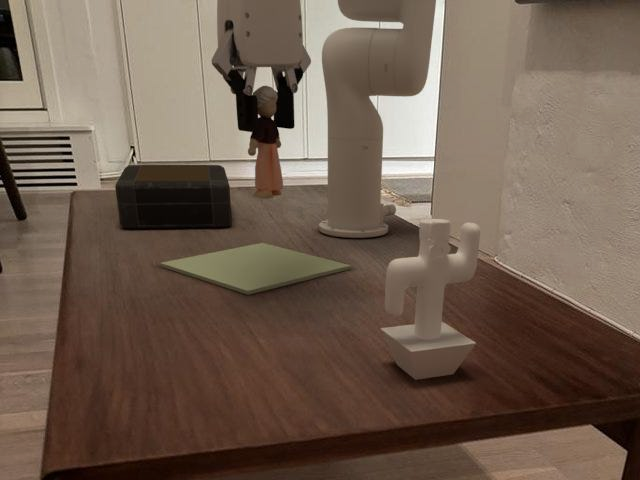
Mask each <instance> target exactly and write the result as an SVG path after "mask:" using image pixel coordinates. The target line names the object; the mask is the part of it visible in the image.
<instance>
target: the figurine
mask: <svg viewBox="0 0 640 480" xmlns="http://www.w3.org/2000/svg"><path fill="white" fill-rule="evenodd" d="M451 225H452V223H451V221H450V220H449V219H448V220H447V219H443V218H424V219H420V220H419V226H418V227H419V228H418V229H419V231H418V234H419V235H418V239H419V249H418V250H419V252H418V255H417V256H411V257H398V258H394V259H392V260H391V261H390V262H389V264H388V266H387V268H386V273H385V286H384V287H385V288H384V289H385V290H384V311H385V313H386V314H387V315H388V316H390V317H395V318H396V317H400V316H401V315H402V314H403V312H404V304H405V303H404V302H405V296H406V291H407V289H408V288H416V300H415V301H416V302H415V315H414V324H405V325H397V326H389V327H388V326H387V327H380V328H379V329H380V331H381V334H382V336H383V338H384V341H385V342H386V344H387V347H388V349H389V352H390V353H391V355H392V357H393V360H394V362H395V364H396V365H397V366H398V367H399V368H400V369H401V370H402V371H404V372H405V373H407V374H408V375H409V376H410V377H411V378H413V379H414V380H415V381H417V380H423V379H431V378H436V377H437V378H438V377H445V376H451V375H454V374H455V373H456V372H457V370H458V369H459V367H460V366H461V365H462V363H463V362H464V361H465V359H466V358H467V357H468V356H469V354H470V353H471V351H472V350H473V349H474V348H475V346H476V344H477V342H475V341H474V340H472V339H471V338H469V337H468V336H466V335H464V334H463V333H461V332H460V331H458V330H456V329H455V328H453V327H452V326H451V325H448V324H447V323H445V322H443V320H442V319H443V310H444V299H445V298H444V297H445V288H446V286H447V285H448V284H458V283H466V282H469V281H470V280H472V279H473V278H474V276H475V274H476V272H477V266H478V261H479V260H478V259H479V250H480V249H479V248H480V241H481V228H480V226H479V225H478V224H477V223H474V222H465V223H463V224H462V226H461V228H460V235H459V242H458V248H457V251H456V253H450V252H451V249H452V247H451V245H450V244H449V243H450V240H451V239H450V236H451Z"/></svg>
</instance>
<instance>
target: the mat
mask: <svg viewBox="0 0 640 480" xmlns="http://www.w3.org/2000/svg"><path fill="white" fill-rule="evenodd" d="M160 267H161V268H164V269H166V270H169V271H173V272H176V273H178V274H179V273H180V274H181V275H185V276H188V277H192V278H195V279H197V280H200V281H204V282H207V283H210V284H212V285H216V286H220V287H222V288H225V289H229V290H231V291H233V292H234V291H235V292H237V293H241V294H243V295H247V296H249V295H254V294H257V293H262V292H266V291H269V290H274V289H277V288H278V289H279V288H281V287H285V286H289V285H292V284H297V283H301V282H306V281H308V280H309V281H310V280H313V279H317V278H321V277H324V276H325V277H326V276H329V275H332V274H336V273H341V272H345V271H349V270H351V265H350V264H347V263H343V262H339V261H335V260H332V259H327V258H324V257H320V256H316V255H312V254H308V253H303V252H300V251H296V250H292V249H289V248H285V247H281V246H276V245H274V244H269V243H265V242H259V243H255V244H249V245H244V246H238V247H234V248H229V249H224V250H220V251H214V252H209V253H203V254H198V255H193V256H188V257H182V258H178V259H173V260H168V261H163V262H160Z"/></svg>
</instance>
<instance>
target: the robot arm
mask: <svg viewBox="0 0 640 480" xmlns="http://www.w3.org/2000/svg"><path fill="white" fill-rule="evenodd" d="M436 5H437V0H337V6H338V9H339V12H340V13H341V14H342V16H343V17H346V18H347V19H349V20H351V21H357V22H373V23H374V22H375V23H400V24H402V27H401V28H379V27H344V28H339V29H336V30H334V31H333V32H331V33H329V35H328V36H327V37H326V39H325V40H324V42H323V45H322V49H321V66H322V67H321V68H322V74H323V81H324V87H325V95H326V96H325V97H326V111H327V219H325V220H323V221H321V222H319V223H318V231H319V232H320V233H322V234H323V235H326V236H331V237H338V238H347V239H366V238H367V239H369V238H375V237H382V236H384V235H386V234H388V233H389V225H388V224H387V223H386V222H384V219H385V217H390V216H394V215H395V214H396V212H397V208H396V205H395V204H386V205H384V203H382V202H381V200H382V174H383V149H384V148H383V147H384V124H383V123H384V122H383V120H382V117H381V114H380V113H379V111H378V110H377V107H376V106H375V105H374V103H373V101H372V99H371V98H370V97H375V96H379V97H414V96H417V95H419V94H420V93H421V92H422V91H423V90H424V88H425V86H426V84H427V79H428V74H429V68H430V61H431V52H432V44H433V43H432V42H433V34H434V24H435V15H436ZM302 15H303V14H302V4H301V0H216V34H217V48H216V50H215V52H214V54H213V56H212V58H211V65H212V66H213V68H214V69H215V70H216V71H217V72H218V73H219V74H220V75H221V76H222V78H223V80H224V81H225V83H227V85H228V87H229V88H230V92H231V93H232V94H233V95H235V106H236V107H235V108H236V122H237V129H238V130H239V131H240V132H247V133H252V132H257V131H258V130H259V124H258V118H259V114H258V103H257V95H253V92H254V87H255V81H256V80H255V79H256V77H257V76H256V74H257V71H258V70H257V69H258V68H271V73H272V77H273V82H274V86H275V88H276V93H277V96H278V98H277V102H276V112H275V114H274V115H273V120H274V121H275V122H276V125H277V128H278V129H279V128H280V129H288V130H290V129H291V130H293V129H295V94H296V93H298V91H299V86H298V85H299V84H300V82H301V81H302V79H303V76H304V74H305V73H306V71H307V70H308V68H309V67H310V65H311V63H312V59H311V57H310V55H309V53H308V51H307V49H306V48H305V45H304V36H303V31H304V30H303V17H302Z"/></svg>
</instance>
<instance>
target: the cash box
mask: <svg viewBox="0 0 640 480" xmlns="http://www.w3.org/2000/svg"><path fill="white" fill-rule="evenodd" d="M114 188H115V194H116V195H115V196H116V204H117V212H118V218H119V224H120V226H121V227H122V228H124V229H126V230H159V229H160V230H162V229H163V230H164V229H165V230H166V229H170V230H172V229H217V228H218V229H223V228H227V227H229V226H231V225H232V224H233V219H232V204H231V188H230V183H229V179H228V176H227V172H226V169H225V167H224V166H222V165H220V164H129V165H127V166H125V167H124V168H123V171H121V174H120V175H119V177H118V179H117V181H116V182H115V185H114Z"/></svg>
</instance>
